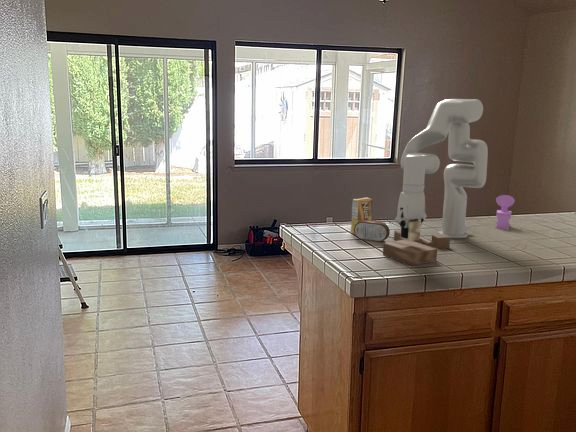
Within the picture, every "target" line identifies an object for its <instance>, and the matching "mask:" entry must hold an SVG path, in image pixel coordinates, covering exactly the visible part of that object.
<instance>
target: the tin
mask: <svg viewBox="0 0 576 432" xmlns="http://www.w3.org/2000/svg"><path fill="white" fill-rule="evenodd" d="M390 230H391V229H390V228H389V225H387V224H386V223H385V222H383V221H377V220H371V221H370V220H360V221H358V222H357V224H356V225H355V226H354V233H355V234H354V235H355V236H356V238H358V239H359V240H363V241H368V242H377V243H381V242H384V241H386V240H387V239H388V238H389V236H390Z"/></svg>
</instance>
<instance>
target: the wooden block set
mask: <svg viewBox="0 0 576 432" xmlns="http://www.w3.org/2000/svg"><path fill="white" fill-rule="evenodd" d="M400 236H401V229H396V230H394V235H393V239H394V241H399V240H404V239H401V238H400ZM414 242H417V243H420V244H424V245H427V246H430V247H433V248H436V249H445V248H446V249H448V248H450V245H451V244H450V243H451V238H450V237H448V236H445V235H441V234H438V232H437V233H434V234H431V240H430V239H427V238H426V237H424V236H422V235H420V240H415V241H414Z"/></svg>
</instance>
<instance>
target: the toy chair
mask: <svg viewBox="0 0 576 432" xmlns="http://www.w3.org/2000/svg"><path fill="white" fill-rule="evenodd" d="M495 201H496V203H497V205H498V206H500V208H501V209H497V210H496V214H495V216H496V219H497V221H496V223H495V225H496V224H497V225H496V226H495V229H501V228H503V230H510V226H511V225H510V220H511V218H512V210H508V209H509V208H510V207H512V206H513V205H514V203H515V202H516V199H515V198H514V197H513V196H511V195H508V194H502V195H499V196H497V197H496V198H495Z"/></svg>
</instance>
